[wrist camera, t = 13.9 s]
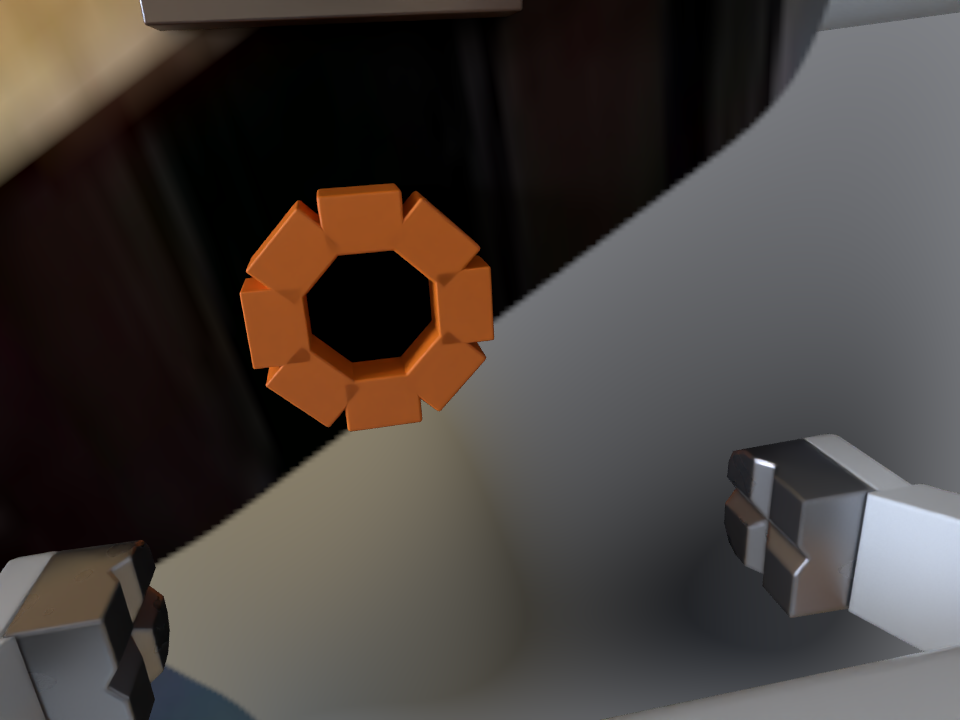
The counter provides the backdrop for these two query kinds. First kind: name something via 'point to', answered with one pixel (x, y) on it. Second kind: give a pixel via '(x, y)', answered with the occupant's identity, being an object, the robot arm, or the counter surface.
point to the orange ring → (376, 383)
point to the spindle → (311, 12)
